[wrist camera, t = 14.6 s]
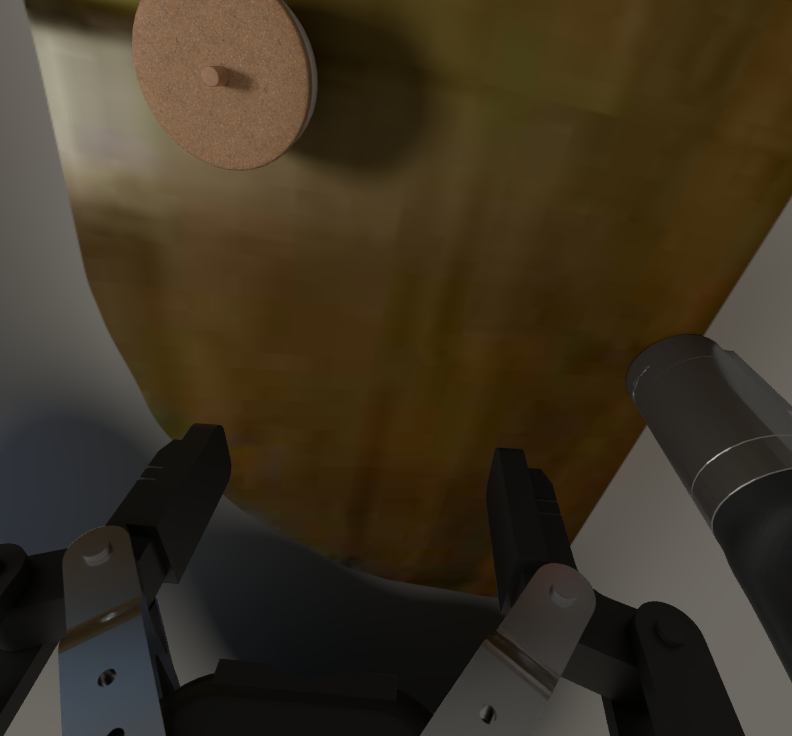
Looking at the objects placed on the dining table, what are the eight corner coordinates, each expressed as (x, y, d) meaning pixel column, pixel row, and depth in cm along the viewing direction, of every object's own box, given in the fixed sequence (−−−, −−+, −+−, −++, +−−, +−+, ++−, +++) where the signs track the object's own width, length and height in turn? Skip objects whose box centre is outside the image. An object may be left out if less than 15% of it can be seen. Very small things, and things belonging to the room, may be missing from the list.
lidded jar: (304, 176, 38) (272, 205, 30) (176, 111, 36) (105, 124, 28) (354, 31, 32) (330, 21, 24) (205, -56, 30) (127, -97, 22)
